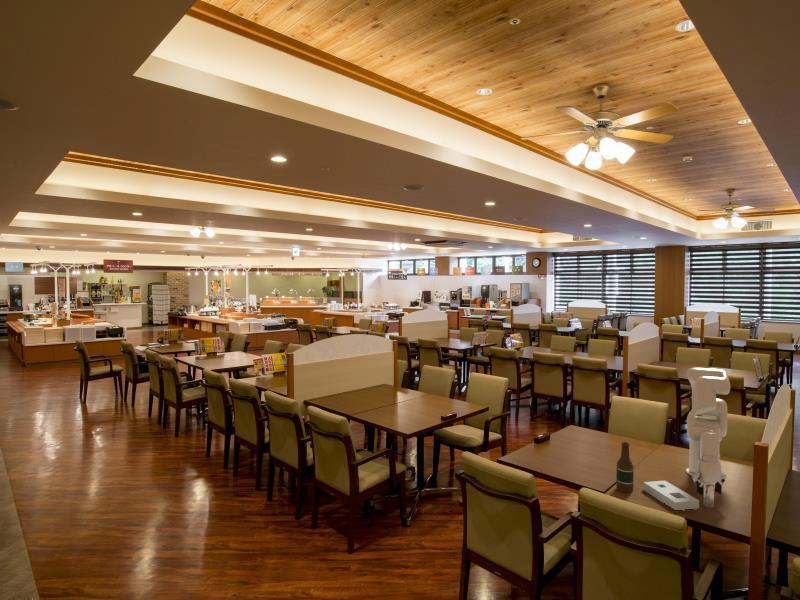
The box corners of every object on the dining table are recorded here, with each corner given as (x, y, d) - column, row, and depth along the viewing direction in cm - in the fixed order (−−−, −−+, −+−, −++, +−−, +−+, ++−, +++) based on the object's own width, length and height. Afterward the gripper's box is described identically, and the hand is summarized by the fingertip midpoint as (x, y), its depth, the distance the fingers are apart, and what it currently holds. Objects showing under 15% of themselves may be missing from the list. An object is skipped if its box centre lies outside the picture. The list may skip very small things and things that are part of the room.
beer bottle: (632, 494, 230) (633, 446, 229) (615, 490, 234) (615, 443, 233) (634, 488, 236) (634, 442, 235) (617, 484, 240) (617, 439, 239)
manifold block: (664, 488, 236) (664, 480, 236) (698, 508, 215) (699, 500, 214) (643, 489, 234) (643, 482, 234) (675, 511, 213) (675, 502, 213)
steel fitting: (708, 503, 220) (709, 482, 220) (715, 507, 216) (716, 486, 216) (701, 504, 219) (701, 483, 219) (708, 508, 215) (708, 486, 215)
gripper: (719, 453, 222) (718, 488, 222) (687, 455, 219) (686, 491, 219) (732, 459, 214) (732, 495, 215) (699, 461, 212) (699, 498, 212)
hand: (709, 493), depth 217 cm, fingers open, 9 cm apart
